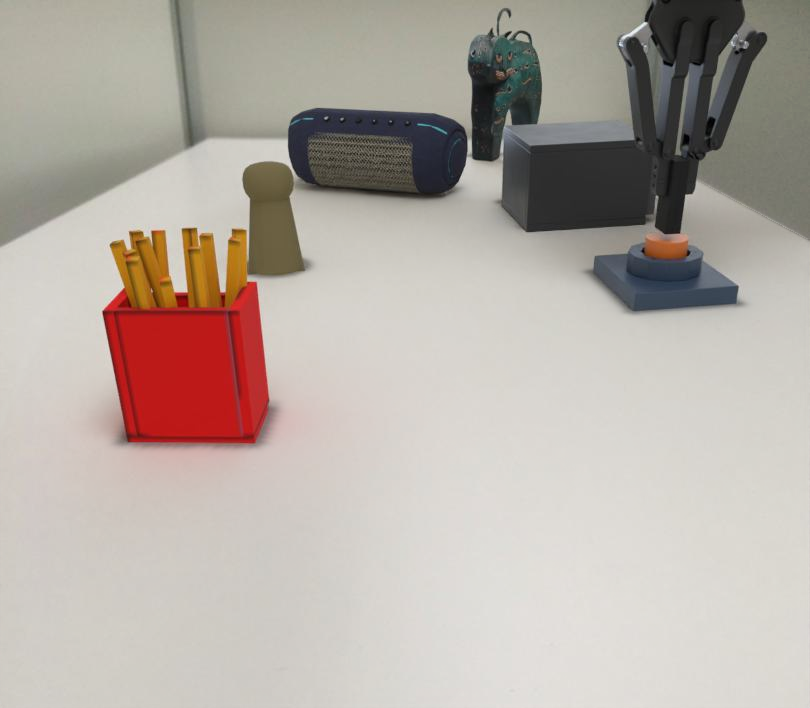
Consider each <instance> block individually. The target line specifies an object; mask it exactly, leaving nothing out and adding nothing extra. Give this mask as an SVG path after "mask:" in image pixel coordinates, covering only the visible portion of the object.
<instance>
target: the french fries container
mask: <svg viewBox="0 0 810 708" xmlns="http://www.w3.org/2000/svg"><path fill="white" fill-rule="evenodd" d="M166 232H167V231H166V229H154V230H150V234H151V238H150V236H149V235H148V236H145V234H144V231H143V230H141V229H136V230H135V229H134V230H128V235H129V243H130V249H128V248H127V246H126V242H125V240H124V239H118V240H115V241H112V242H110V243H109V248H110V250H111V254H112V256H113V260H114V261H115V265H116V267H117V270H118V273H119V276H120V278H121V281H122V283H123V288H122V289H121V290H120V292H118V293H117V295H116V296H115V297H114V298H113V299H112V300H111V301H110V302H109V303H108V304H107V305H106V306H105V307H104V309H102V311H101V313H102V314H101V315H102V318H103V323H104V328H105V333H106V338H107V343H108V344H107V345H108V349H109V354H110V359H111V364H112V370H113V374H114V379H115V384H116V390H117V394H118V399H119V404H120V410H121V414H122V419H123V420H122V421H123V424H124V429H125V435H126V440H127V443H162V444H163V443H165V444H166V443H167V444H169V443H172V444H173V443H175V444H178V443H179V444H181V443H182V444H183V443H184V444H256V441H257V439H258V436H259V434H260V431H261V429H262V427H263V424H264V422H265V420H266V417H267V415H268V412H269V406H268V405H269V403H270V394H269V383H268V375H267V366H266V365H267V364H266V355H265V347H264V346H265V345H264V337H263V329H262V318H261V309H260V300H259V290H258V282H257V281H248V247H247V246H248V242H247V241H248V240H247V235H248V234H247V232H248V231H247V229H245V228H243V227H242V228H239V227H237V228H231V236H230V237H229V239H228V240H227V257H226V276H225V291H221V285H220V277H219V271H218V269H219V268H218V261H217V254H216V245H215V239H214V238H215V237H214V233H213V232H201V233H200V234H199V233H198V227H182V228H181V239H182V249H183V257H184V268H185V269H184V271H185V280H186V291H185V292H183V291H182V292H181V291H178V292H177V291H176V292H175V289H174V285H173V280H172V277H171V275H170V266H169V255H168V245H167V233H166Z"/></svg>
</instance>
